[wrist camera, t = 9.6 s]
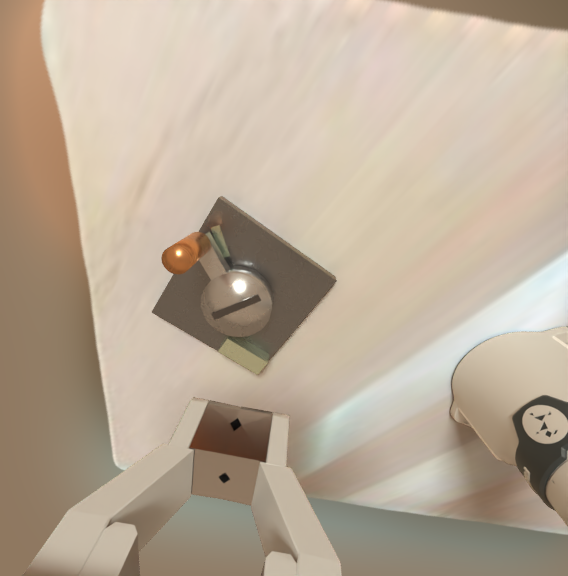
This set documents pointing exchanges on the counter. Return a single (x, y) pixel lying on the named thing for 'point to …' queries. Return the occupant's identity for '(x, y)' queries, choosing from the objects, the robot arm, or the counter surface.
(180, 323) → the plate
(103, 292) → the counter surface
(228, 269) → the copper silver knob
